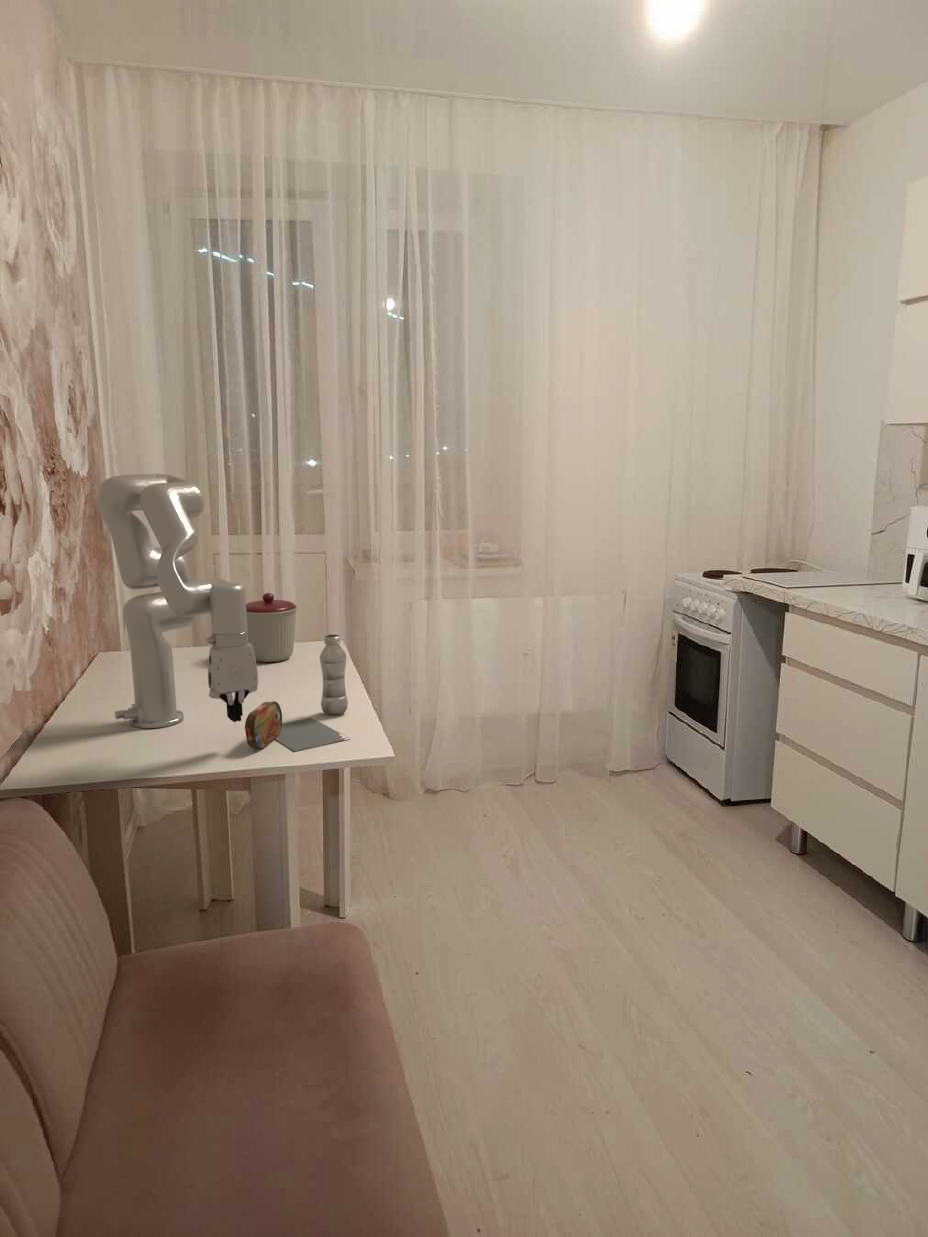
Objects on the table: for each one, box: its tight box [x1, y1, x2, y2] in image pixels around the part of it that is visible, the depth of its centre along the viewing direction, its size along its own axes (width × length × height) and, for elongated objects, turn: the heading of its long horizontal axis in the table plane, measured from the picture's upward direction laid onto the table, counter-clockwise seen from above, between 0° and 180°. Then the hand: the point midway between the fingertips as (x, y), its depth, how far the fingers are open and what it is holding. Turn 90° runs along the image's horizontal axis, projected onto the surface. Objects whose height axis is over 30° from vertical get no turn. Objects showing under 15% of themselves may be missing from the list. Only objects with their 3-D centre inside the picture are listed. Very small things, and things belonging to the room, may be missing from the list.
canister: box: [246, 592, 299, 663], centre depth 280 cm, size 18×18×21 cm
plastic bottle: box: [319, 634, 349, 715], centre depth 223 cm, size 6×7×20 cm
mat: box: [274, 717, 348, 753], centre depth 209 cm, size 14×20×1 cm
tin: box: [244, 700, 283, 749], centre depth 203 cm, size 15×3×8 cm, turn 168°
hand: (235, 719), depth 199 cm, fingers closed
